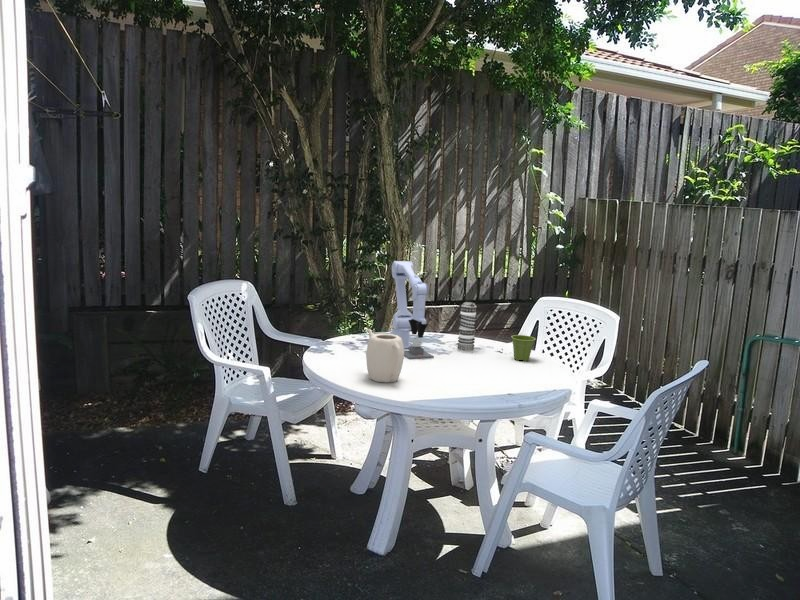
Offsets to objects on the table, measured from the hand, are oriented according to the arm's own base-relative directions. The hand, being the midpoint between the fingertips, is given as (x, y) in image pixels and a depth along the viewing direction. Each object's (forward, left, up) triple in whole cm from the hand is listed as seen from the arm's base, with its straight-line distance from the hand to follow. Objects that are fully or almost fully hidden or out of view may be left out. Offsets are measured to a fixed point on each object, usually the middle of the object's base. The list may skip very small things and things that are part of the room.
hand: (417, 335), depth 341 cm
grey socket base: (0, 0, -10) cm, 10 cm away
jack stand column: (0, 0, -8) cm, 8 cm away
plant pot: (+36, +38, -10) cm, 53 cm away
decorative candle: (+8, +29, -10) cm, 32 cm away
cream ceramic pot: (+20, -44, -10) cm, 49 cm away
